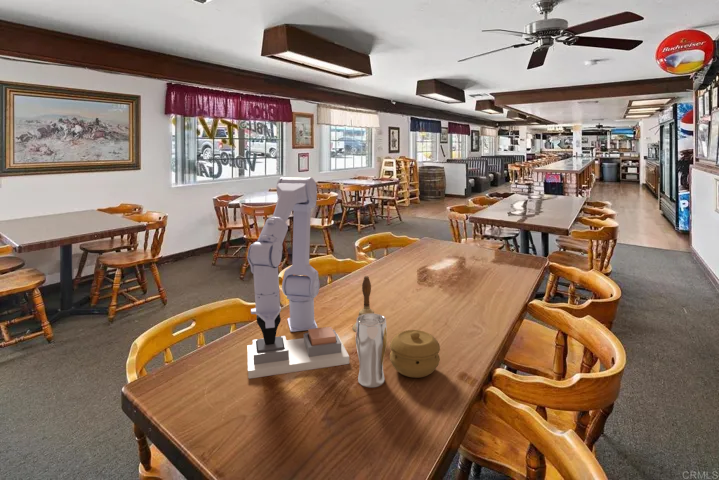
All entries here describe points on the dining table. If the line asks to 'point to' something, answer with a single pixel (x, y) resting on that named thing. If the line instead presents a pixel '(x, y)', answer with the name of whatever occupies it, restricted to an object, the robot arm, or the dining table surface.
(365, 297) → the hand bell
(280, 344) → the charcoal key
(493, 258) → the dining table surface
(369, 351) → the beer glass
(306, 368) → the button panel
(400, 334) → the pot
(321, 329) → the terracotta key
